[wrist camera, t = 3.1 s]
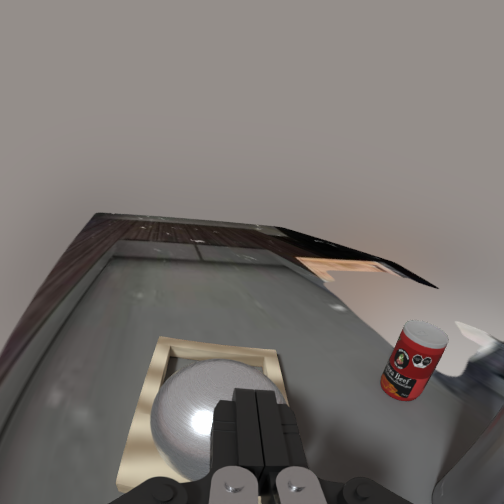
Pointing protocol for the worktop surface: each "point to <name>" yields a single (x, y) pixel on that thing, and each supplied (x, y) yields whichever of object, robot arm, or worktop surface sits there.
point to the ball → (198, 410)
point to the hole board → (140, 438)
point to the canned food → (413, 360)
